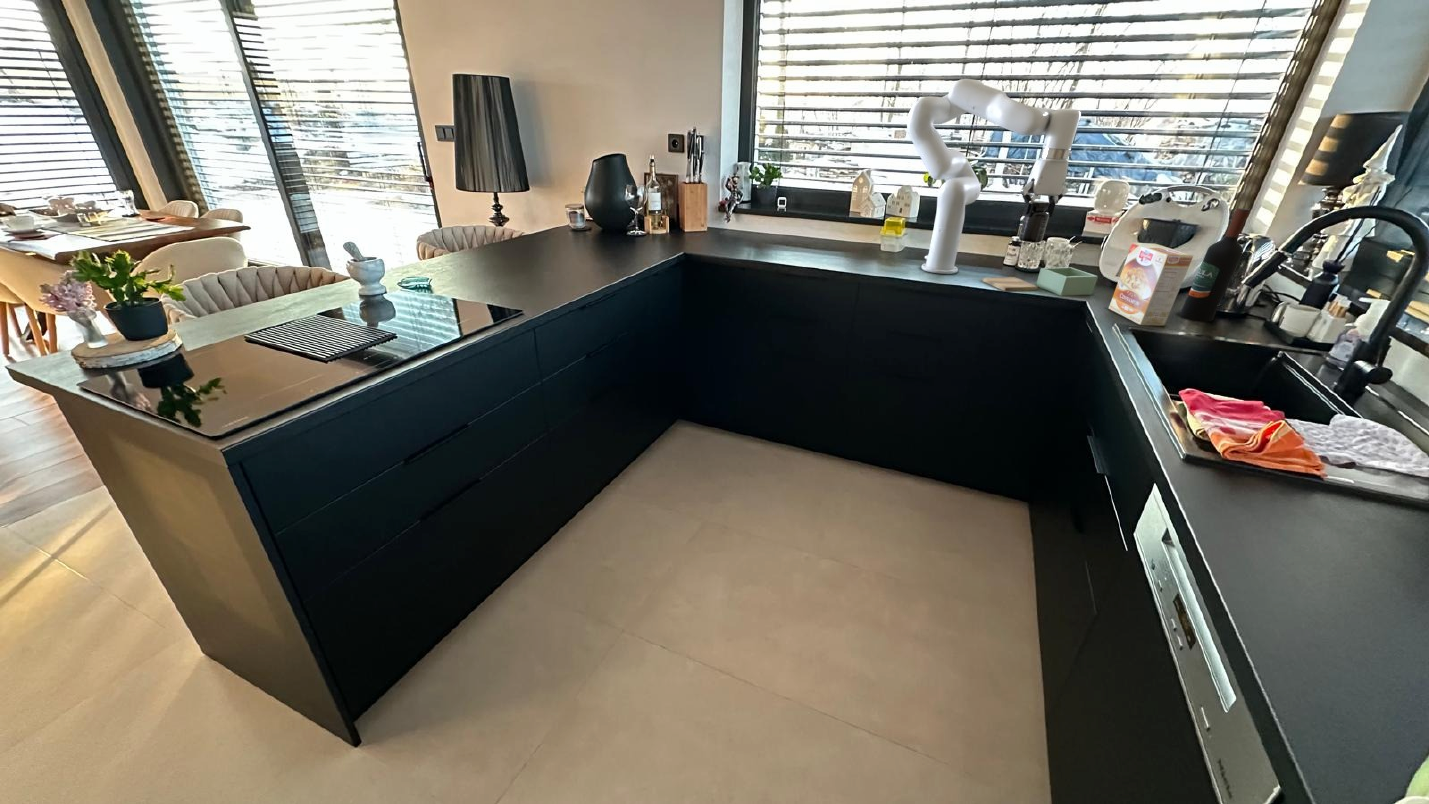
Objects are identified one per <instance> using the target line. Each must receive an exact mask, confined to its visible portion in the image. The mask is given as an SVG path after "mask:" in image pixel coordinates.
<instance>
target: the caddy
mask: <svg viewBox="0 0 1429 804" xmlns="http://www.w3.org/2000/svg"><path fill="white" fill-rule="evenodd" d="M1098 279H1099V276H1098V275H1095V274H1092V273H1090V272H1086V271H1083V270H1081V269H1078V268H1074V267H1071V266H1070V267H1068V266H1066V267H1041V268H1040V270H1039V273H1038V276H1037V280H1036V283H1035V286H1038V288H1040V289H1043V290H1046V291H1048V292H1050V293H1053V294H1056V295H1057V296H1061V297H1065V296H1091V295H1093V292H1094V291H1095V290H1094V289H1095V287H1096V284H1097V281H1098Z"/></svg>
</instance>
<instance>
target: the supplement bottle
mask: <svg viewBox="0 0 1429 804" xmlns="http://www.w3.org/2000/svg"><path fill="white" fill-rule="evenodd" d="M1033 204H1034V208H1033V211H1032V215H1031V217H1026V216H1023V217H1024V218H1023V222H1022V225H1021V229H1020V233H1019V236H1018V239H1019V241H1021V242H1026V243H1042V241H1043V239H1044V236H1045V233H1046V229H1047V225H1048V222H1049V219H1050V217H1049V212H1048V211H1047V209H1048V206H1049V201H1044V200H1035V201H1034V202H1033Z"/></svg>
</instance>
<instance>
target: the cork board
mask: <svg viewBox="0 0 1429 804" xmlns="http://www.w3.org/2000/svg"><path fill="white" fill-rule="evenodd" d="M982 282H983V283H985V284H988V285H990V286H993V287H994V288H997V289H998V290H1001V291H1003V292H1023V291H1037V290H1038V288H1039V287H1038V286H1036V284H1033V283H1030V282H1028V281H1025V280H1023V279H1021V278H1018V277H1015V276H1005V277H1002V276H1001V277H983V279H982Z"/></svg>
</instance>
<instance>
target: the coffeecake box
mask: <svg viewBox="0 0 1429 804" xmlns="http://www.w3.org/2000/svg"><path fill="white" fill-rule="evenodd" d="M1193 258H1194V255H1192V254H1189V253H1187V252H1182V251H1180V250H1177V249H1174V248H1170V247H1167V246H1164V245H1161V244H1158V243H1150V242H1149V243H1145V242H1132V243H1131V246H1130V249H1129V250H1128V253H1127V257H1126V260H1125V262H1124V265H1123V267H1122V270H1121V273H1120V275H1119V278H1118V281H1117V284H1116V286H1115V290H1114V293H1113V295H1112V298H1111V301H1110V304H1109V306H1108V309H1109V310H1110V311H1112V312H1114V313H1116V314H1118V315H1120V316H1122V317H1124V318H1126V319H1127V320H1130V321H1131V322H1133V323H1135V324H1137V325H1139V326H1157V327H1159V326H1161V327H1165V325H1166V322H1167V320H1168V318H1169V315H1170V313H1171V311H1172V308H1173V306H1174V304H1175V301H1176V298H1177V296H1178V294H1179V292H1180V289H1181V287H1182V284H1183V283H1184V280H1185V277H1186V275H1187V273H1188V270H1189V267H1190V265H1191V263H1192V260H1193Z"/></svg>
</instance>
